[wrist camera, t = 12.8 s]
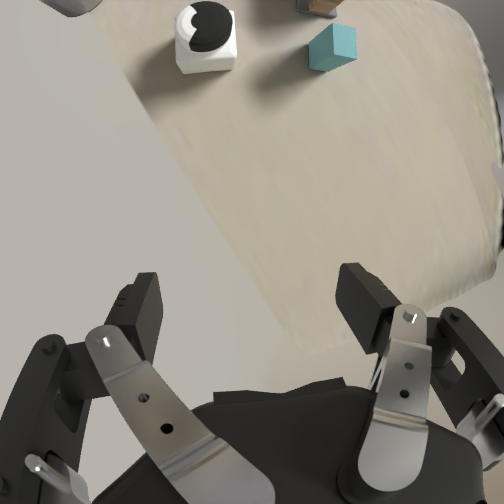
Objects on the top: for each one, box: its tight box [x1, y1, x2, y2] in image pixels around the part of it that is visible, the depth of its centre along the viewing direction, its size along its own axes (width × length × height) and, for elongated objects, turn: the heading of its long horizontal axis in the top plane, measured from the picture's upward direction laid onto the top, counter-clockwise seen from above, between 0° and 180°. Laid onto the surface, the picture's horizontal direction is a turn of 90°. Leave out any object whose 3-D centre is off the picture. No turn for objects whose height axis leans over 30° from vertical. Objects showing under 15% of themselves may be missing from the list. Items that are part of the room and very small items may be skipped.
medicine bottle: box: [175, 1, 237, 74], centre depth 25 cm, size 7×7×12 cm
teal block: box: [309, 23, 357, 72], centre depth 28 cm, size 4×3×10 cm, turn 0°
